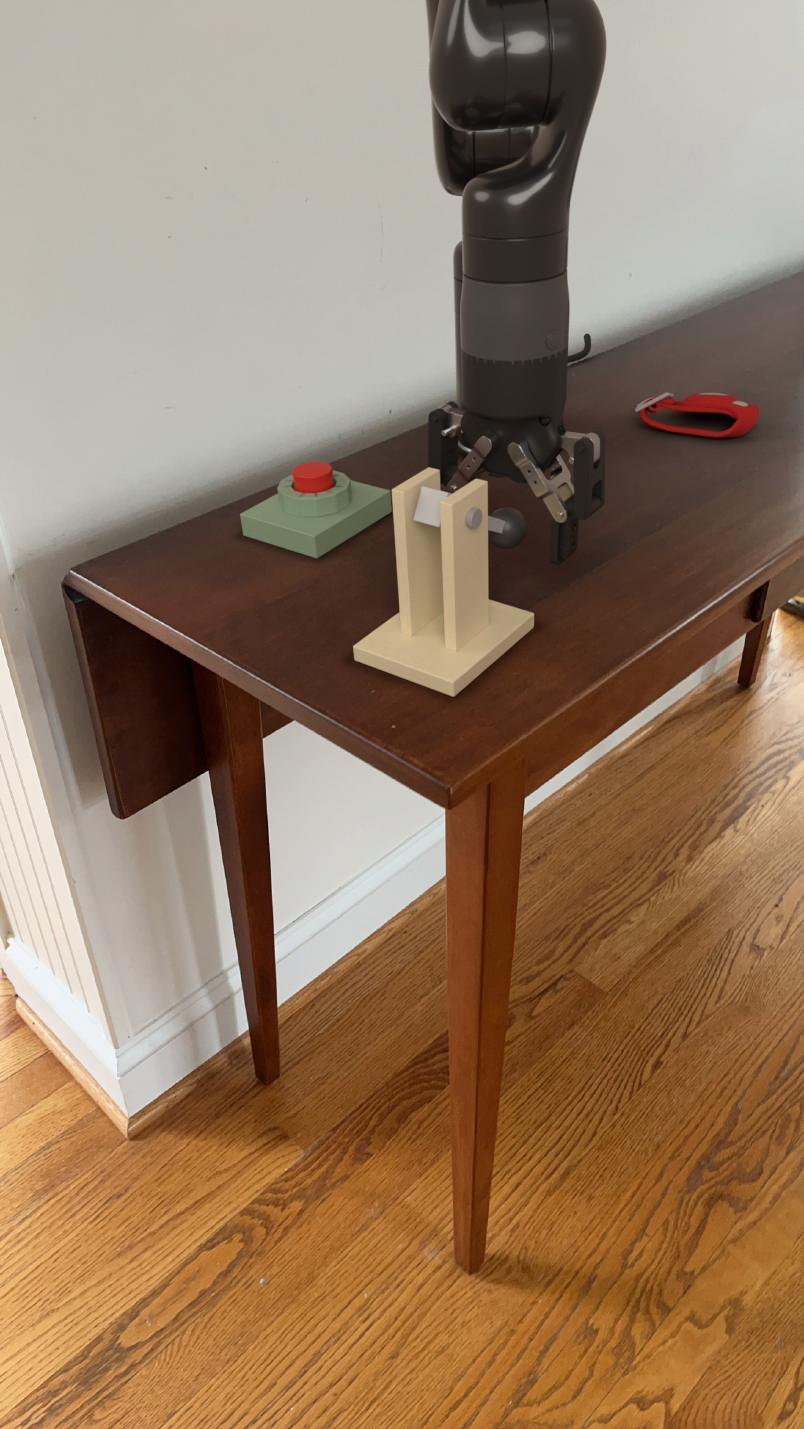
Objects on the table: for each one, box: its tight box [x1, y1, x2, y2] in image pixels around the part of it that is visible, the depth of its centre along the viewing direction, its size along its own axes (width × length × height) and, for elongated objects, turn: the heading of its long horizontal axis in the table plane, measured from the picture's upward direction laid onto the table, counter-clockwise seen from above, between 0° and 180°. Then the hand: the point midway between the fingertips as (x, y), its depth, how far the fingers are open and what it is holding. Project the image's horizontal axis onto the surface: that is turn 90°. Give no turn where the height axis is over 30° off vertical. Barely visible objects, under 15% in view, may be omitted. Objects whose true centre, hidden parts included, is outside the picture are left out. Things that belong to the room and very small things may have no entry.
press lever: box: [413, 486, 528, 550], centre depth 75 cm, size 13×3×3 cm, turn 143°
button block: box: [239, 470, 393, 559], centre depth 94 cm, size 11×9×4 cm
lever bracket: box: [352, 466, 535, 698], centre depth 74 cm, size 11×9×13 cm
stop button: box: [292, 461, 334, 493], centre depth 93 cm, size 4×4×2 cm
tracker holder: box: [634, 391, 760, 439], centre depth 108 cm, size 12×4×10 cm
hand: (512, 547), depth 81 cm, fingers open, 8 cm apart
